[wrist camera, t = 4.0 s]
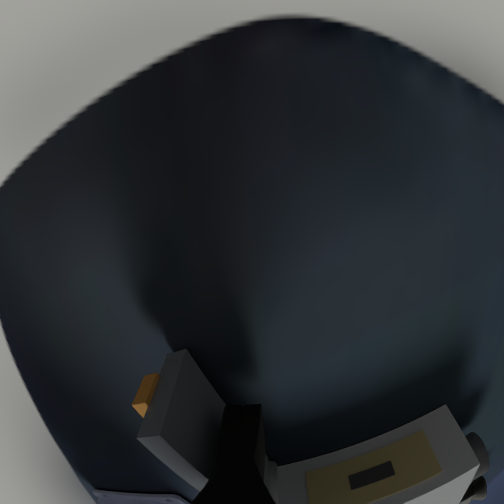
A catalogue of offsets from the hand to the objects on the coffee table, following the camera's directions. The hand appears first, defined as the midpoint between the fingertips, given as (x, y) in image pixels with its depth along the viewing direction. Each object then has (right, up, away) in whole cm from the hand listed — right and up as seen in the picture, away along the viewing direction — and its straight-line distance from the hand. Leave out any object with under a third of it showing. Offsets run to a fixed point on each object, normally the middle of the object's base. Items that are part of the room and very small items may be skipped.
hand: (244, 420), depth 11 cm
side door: (-1, -2, +2) cm, 3 cm away
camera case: (+9, -7, +4) cm, 12 cm away
